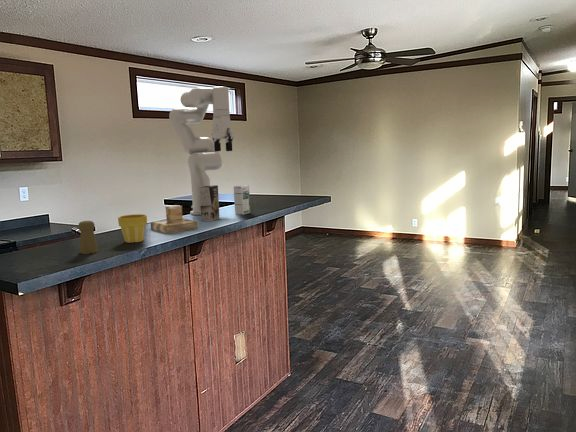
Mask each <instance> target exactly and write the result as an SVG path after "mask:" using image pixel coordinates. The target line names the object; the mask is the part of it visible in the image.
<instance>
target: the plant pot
mask: <svg viewBox="0 0 576 432" xmlns="http://www.w3.org/2000/svg"><path fill="white" fill-rule="evenodd" d="M147 218H148V216H147V214H142V213H141V214H140V213H139V214H137V213H136V214H126V215H120V216H118V217H117V219H118V220H117V221H118V222H117V223H118V227H120V229H121V232H122V235H123V238H124V241H125V243H129V244H131V243H134V242H135V243H140V242H143V241H144V240H145V230H146V225H147V224H148V219H147Z"/></svg>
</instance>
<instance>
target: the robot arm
mask: <svg viewBox="0 0 576 432" xmlns="http://www.w3.org/2000/svg"><path fill="white" fill-rule="evenodd" d="M229 95H230V93H229V88H228V87H227V86H219V85H218V86H213V87H195V88H191V90H189V91H186V92H185V91H184V93H182V95H180V103H181V105H182V106H183V107H176V108H173V109H171V110H170V112H169V123H170V126H171V128H172V130H173V131H174V133H175V134H176V136H178V138H179V141H180V143H181V145H182V148H183V149H184V151H185V153H186V155H188V158H187V164H188V169H189V173H190V183H191V195H192V196H191V197H192V198H191V199H192V205H191V206H190V208H191V209H192V210H191V211H190V212H189V214H190V215H192V216H193V215H194V216H198V215H199V216H201V208H200V188H199V187H203V186H211V180H210V177H209V175H208V174H207V173H206V172H207V171H217V170H219V169H221V167H222V164H223V160H222V156H221V153H220V152H221V149H222V147H221V145H222V144H221V139H222V140H223V139H224V140H225V151H226V152H232V151H233V142H234V136H235V132H234V131H233V130H232V123H231V122H232V121H231V116H230V113H231V112H230V98H229V97H230V96H229ZM209 105H212V114H213V116H212V126H211V127H212V129H211V131H212V133H211V137H212V139H211V138H210V137H208V136H203V137H202V136H197V135H196V133H195V132H194V130H193V129H192V128H191V127H190V126H189V125H191V124H192V125H197V124H201V123H202V122H203V120H204V118H205V115H206V113H207V110H208V108H209ZM188 124H189V125H188Z"/></svg>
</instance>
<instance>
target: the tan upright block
mask: <svg viewBox="0 0 576 432" xmlns="http://www.w3.org/2000/svg"><path fill="white" fill-rule="evenodd" d="M165 217H166V219H165V221H167V223H171V224H173V223H180V222H183V219H182V218H183V205H178V204H174V205H165Z"/></svg>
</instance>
